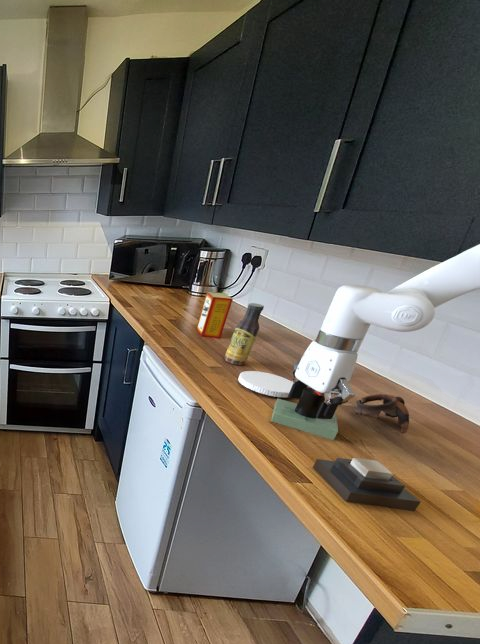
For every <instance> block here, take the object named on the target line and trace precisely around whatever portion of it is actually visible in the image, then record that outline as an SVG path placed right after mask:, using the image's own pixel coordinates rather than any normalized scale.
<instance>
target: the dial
mask: <svg viewBox="0 0 480 644" xmlns="http://www.w3.org/2000/svg"><path fill="white" fill-rule="evenodd" d="M322 402H325V397H324V393H320V392H318V391H316V390H314V389H312V388H311V387H309V386H307V388H304V390H303V392H302V394H301V397H300V399H298V401H297V403H296V404H297V406H296V408H295V412H296V413H298V414H300V415H302V416H305V417H309V418H316V415H317V412H318V410H319V408H320V406H321V404H322Z"/></svg>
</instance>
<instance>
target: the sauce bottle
mask: <svg viewBox="0 0 480 644" xmlns="http://www.w3.org/2000/svg"><path fill="white" fill-rule="evenodd" d="M264 307H265V306H264V305H263V304H260V303H256V302H255V303H254V302H250V303H248V305H247V309H246V311H245V314H244V316H243V318H242V319H241V320H240V321H239V322H238V324H237V325H236V327H235V328H234V331H233V333H232V336H231V339H230V340H229V341H230V342H229V344H228V347H227V350H226V352H225V355H224V361H225V362H227V363H228V364H232V365H234V366H244V365H245V364H246V362H247V361H248V359H249V356H250V354H251V351H252V349H253V346H254V344H255V342H256V339H257V335H258V333H259V331H260V323H259V319H260V316H261V313H262V312H263V311H264Z"/></svg>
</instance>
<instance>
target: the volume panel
mask: <svg viewBox="0 0 480 644" xmlns="http://www.w3.org/2000/svg"><path fill="white" fill-rule="evenodd" d="M296 406H297V403H296V402H292V401H289V400H285V399H281V398H277V399H276V400H275V403H274V405H273V410H272V414H271V419H270V422H272V423H275V424H279V425H281V426H284V427H289V428H292V429H295V430H298V431H301V432H305V433H309V434H312V435H315V436H318V437H322V438H325V439H329V440H332V441H334V440H335V438H336V437H337V435H338V433H339V425H338V416H337V414H336V413H334V415H333V417H332V419H318V418H317V417H316V418H309V417H305V416H302V415H300V414H298V413H296V412H295V408H296Z"/></svg>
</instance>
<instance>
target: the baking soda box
mask: <svg viewBox="0 0 480 644" xmlns="http://www.w3.org/2000/svg"><path fill="white" fill-rule="evenodd" d="M205 293H206V294H205V297H204V300H203V304H202V307H201V311H200V315H199V317H198V322H197V325H196V328H195V329H196V331H197V332H198V334H199V335H200V336H201V337H204V338H213V339H221V337H222V334H223V332H224V328H225V324H226V322H227V319H228V315H229V313H230V310H231V306H232V302H233V300H234V299H233V298H232V297H231V296H229V294H227V293H225V292H215V291H206V292H205Z"/></svg>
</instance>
